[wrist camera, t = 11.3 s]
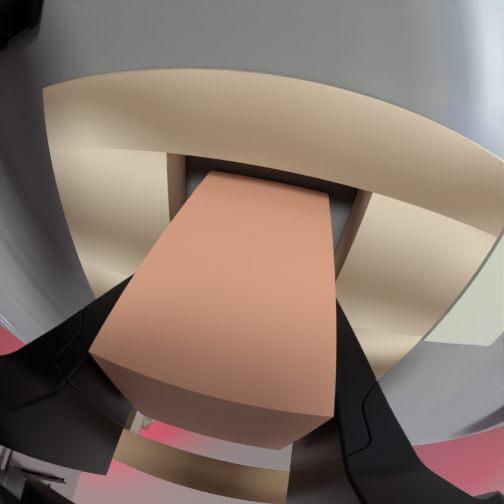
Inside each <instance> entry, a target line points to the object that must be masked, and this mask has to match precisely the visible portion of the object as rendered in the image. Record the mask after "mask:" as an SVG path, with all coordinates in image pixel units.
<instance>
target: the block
mask: <svg viewBox="0 0 504 504" xmlns="http://www.w3.org/2000/svg"><path fill="white" fill-rule="evenodd" d="M89 353H90V354H91V355H92V357H93V358H94V360H95V361H96V362H97V363H98V365H99V366H100V367H101V369H102V370H103V371H104V372H105V374H106V375H107V376H108V377H109V379H110V380H111V381H112V382H113V383H114V385H115V386H116V387H117V388H118V389H119V390H120V392H121V393H122V394H123V395H124V396H125V397H126V398H127V399H128V401H129V402H130V403H131V404H132V405H133V406H134V407H135V408H136V409H137V410H138V411H139V412H140V413H141V414H142V415H144V416H147V417H150V418H152V419H155V420H158V421H161V422H163V423H166V424H169V425H172V426H175V427H178V428H182V429H185V430H188V431H192V432H195V433H198V434H202V435H206V436H209V437H213V438H217V439H222V440H226V441H230V442H235V443H240V444H245V445H250V446H256V447H262V448H268V449H275V450H280V449H282V448H284V447H286V446H288V445H289V444H291V443H293V442H295V441H296V440H298V439H300V438H301V437H303V436H305V435H306V434H308V433H310V432H311V431H313V430H314V429H316V428H317V427H319V426H320V425H322V424H323V423H325V422H326V421H328V420H329V419H331V418H332V417H333V416H334V401H335V380H336V291H335V269H334V253H333V239H332V227H331V216H330V206H329V197H328V193H324V192H320V191H316V190H312V189H307V188H303V187H298V186H294V185H289V184H284V183H279V182H274V181H269V180H264V179H259V178H254V177H248V176H242V175H237V174H231V173H225V172H219V171H212V170H211V171H210V172H209V173H208V175H207V176H206V177H205V178H204V180H203V181H202V182H201V183H200V185H199V186H198V187H197V188H196V190H195V191H194V192H193V193H192V195H191V196H190V197H189V199H188V200H187V201H186V203H185V204H184V205H183V206H182V208H181V209H180V210H179V212H178V213H177V214H176V216H175V217H174V218H173V220H172V221H171V223H170V224H169V225H168V227H167V228H166V229H165V231H164V232H163V234H162V235H161V236H160V238H159V239H158V241H157V242H156V243H155V245H154V246H153V248H152V249H151V251H150V252H149V254H148V255H147V256H146V258H145V259H144V261H143V262H142V264H141V265H140V267H139V268H138V270H137V271H136V273H135V274H134V276H133V277H132V279H131V280H130V282H129V284H128V285H127V287H126V288H125V290H124V291H123V293H122V295H121V296H120V298H119V299H118V301H117V303H116V304H115V306H114V308H113V309H112V311H111V313H110V314H109V316H108V318H107V319H106V321H105V323H104V324H103V326H102V328H101V330H100V331H99V333H98V335H97V337H96V338H95V340H94V342H93V344H92V346H91V347H90V349H89Z"/></svg>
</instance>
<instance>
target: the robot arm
mask: <svg viewBox="0 0 504 504" xmlns="http://www.w3.org/2000/svg"><path fill="white" fill-rule="evenodd" d="M39 4H40V0H0V52H2V51H3V50H5V48H6V47H7V46H8V44H9V42H10V41H12V40H13V39H15V38H16V37H18V36H20V35H21V34H23V33H25V32H27V31H28V30H30V29H32V28H33V27H34V25H35V24H36V22H37V18H38V12H39ZM134 274H135V273H134ZM134 274H133V275H131V276H129V277H128V278H126V279H125V280H123V281H122V282H120V283H119V284H118V285H116V286H115V287H113V288H112V289H110V290H109V291H107V292H106V293H104V294H103V295H101V296H100V297H98V298H97V299H96V300H94V301H93V302H91V303H90V304H88V305H87V306H86V307H84V310H83V309H81V310H80V311H78V312H77V313H76V314H74V315H73V316H71V317H70V318H68V319H67V320H65V321H64V322H63V323H61V324H60V325H58V326H56V327H55V328H53V329H52V330H50V331H48V332H47V333H45V334H43V335H42V336H40V337H38V338H37V339H35V340H33V341H32V342H30V343H28V344H27V345H25V346H24V347H22V348H20V349H19V350H17V351H15V352H12V353H10V354H6V355H0V504H75V503H73V502H72V499H73V496H74V493H75V490H76V487H77V484H78V481H79V478H80V475H81V472H82V471H83V472H88V473H94V474H99V475H106V474H107V471H108V469H109V466H110V463H111V461H112V458H113V455H114V452H115V450H116V447H117V444H118V442H119V439H120V437H121V434H122V431H123V429H124V427H123V426H125V423H126V421H127V418H128V416H129V413H130V411H131V408H132V406H133V405H132V404H131V403H130V402H129V401H128V399H127V398H126V397H125V396H124V395H123V394H122V393H121V392H120V390H119V389H118V388H117V387H116V386H115V385H114V383H113V382H112V381H111V380H110V379H109V377H108V376H107V375H106V374H105V372H104V371H103V370H102V369H101V367H100V366H99V365H98V363H97V362H96V361H95V360H94V358H93V357H92V355H91V354H90V353H89V349H90V347H91V346H92V344H93V342H94V340H95V338H96V337H97V335H98V333H99V331H100V330H101V328H102V326H103V324H104V323H105V321H106V319H107V318H108V316H109V314H110V313H111V311H112V309H113V308H114V306H115V304H116V303H117V301H118V299H119V298H120V296H121V295H122V293H123V291H124V290H125V288H126V287H127V285H128V284H129V282H130V280H131V279H132V277H133V276H134ZM285 504H504V495H503V494H502V493H501V492H499V491H495V492H490V493H486V494H482V495H478V496H474V497H472V496H471V495H469V494H467V493H465V492H464V491H462V490H461V489H459V488H457V487H456V486H454V485H453V484H451V483H449V482H448V481H446V480H445V479H443V478H442V477H440V476H439V475H437V474H436V473H434V472H433V471H431V470H430V469H429V468H427V467H426V466H425V465H424V464H423V463H422V461H421V460H420V459H419V457H418V456H417V454H416V453H415V451H414V449H413V447H412V445H411V444H410V442H409V440H408V438H407V436H406V435H405V433H404V431H403V429H402V428H401V426H400V424H399V422H398V421H397V419H396V417H395V415H394V413H393V411H392V409H391V408H390V406H389V404H388V402H387V399H386V397H385V395H384V393H383V391H382V389H381V387H380V385H379V382H378V381H377V380H376V376H375V374H374V372H373V370H372V368H371V366H370V363H369V361H368V359H367V357H366V355H365V353H364V351H363V349H362V347H361V345H360V343H359V341H358V339H357V337H356V335H355V333H354V331H353V329H352V327H351V325H350V323H349V321H348V319H347V317H346V315H345V313H344V311H343V309H342V307H341V305H340V304H339V302H338V300H337V298H336V380H335V401H334V416H333V417H332V418H331V419H329V420H328V421H326V422H325V423H323V424H322V425H320V426H319V427H317V428H316V429H314V430H313V431H311V432H310V433H308V434H306V435H305V436H303V437H301V438H300V439H298V440H296V441H295V442H293V446H292V455H291V464H290V472H289V480H288V488H287V495H286V502H285Z"/></svg>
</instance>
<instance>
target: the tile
mask: <svg viewBox="0 0 504 504" xmlns="http://www.w3.org/2000/svg"><path fill="white" fill-rule="evenodd" d="M503 332H504V227H503V229H502V231H501V233H500V234H499V236H498V238H497V239H496V241H495V243H494V244H493V246H492V248H491V249H490V251H489V253H488V254H487V256H486V257H485V259H484V260H483V262H482V263H481V265H480V266H479V268H478V269H477V271H476V272H475V274H474V275H473V276H472V278H471V279H470V281H469V282H468V283H467V285H466V286H465V287H464V289H463V290H462V291H461V293H460V294H459V295H458V297H457V298H456V299H455V300H454V302H453V303H452V304H451V305H450V307H449V308H448V309H447V310H446V311H445V313H444V314H443V315H442V316H441V317H440V319H439V320H438V321H437V322H436V323H435V324H434V325H433V326H432V328H431V329H430V330H429V331H428V332H427V333H426V334H425V335H424V336H423V341H431V342H442V343H454V344H467V345H484V346H490V345H491V344H492V343H493V342H494V341H495V340H496V339H497V338H498V337H499V336H500V335H501V334H502V333H503Z"/></svg>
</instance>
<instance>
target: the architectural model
mask: <svg viewBox="0 0 504 504" xmlns="http://www.w3.org/2000/svg"><path fill="white" fill-rule="evenodd" d="M150 423H153V424H155V421H154V420H152V418H150V417H147V416H144V415H142V414H141V413H140V412H139V411H137V413H136V416H135V418H134V421H133V424H132V426H131V429H130V431H131V432H134V433H136V434H139V431H140V429H141V428H142V427H143V428H144V426H146V425H148V427H149V425H150ZM148 427H147V429H146V430H148ZM144 429H145V428H144Z"/></svg>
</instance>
